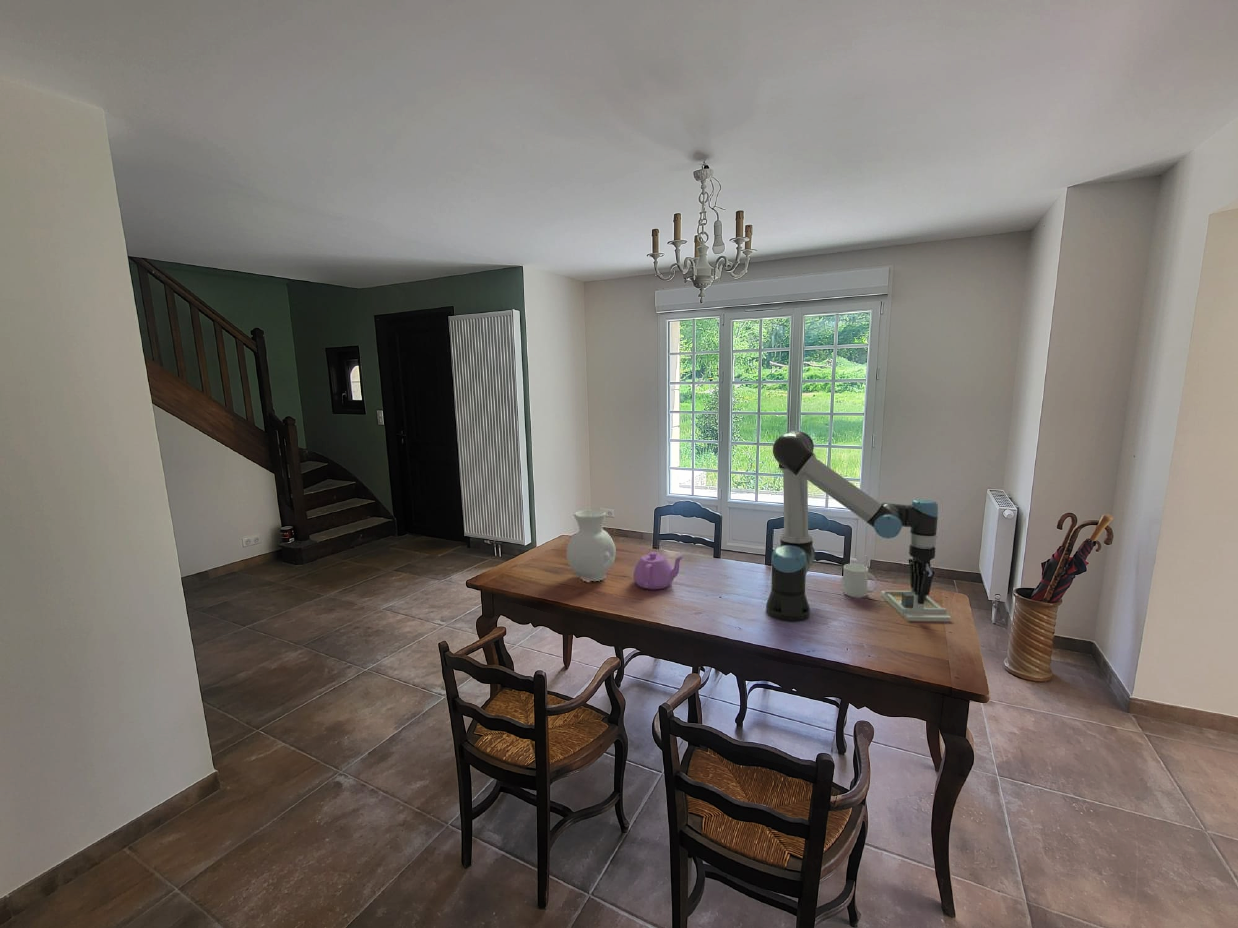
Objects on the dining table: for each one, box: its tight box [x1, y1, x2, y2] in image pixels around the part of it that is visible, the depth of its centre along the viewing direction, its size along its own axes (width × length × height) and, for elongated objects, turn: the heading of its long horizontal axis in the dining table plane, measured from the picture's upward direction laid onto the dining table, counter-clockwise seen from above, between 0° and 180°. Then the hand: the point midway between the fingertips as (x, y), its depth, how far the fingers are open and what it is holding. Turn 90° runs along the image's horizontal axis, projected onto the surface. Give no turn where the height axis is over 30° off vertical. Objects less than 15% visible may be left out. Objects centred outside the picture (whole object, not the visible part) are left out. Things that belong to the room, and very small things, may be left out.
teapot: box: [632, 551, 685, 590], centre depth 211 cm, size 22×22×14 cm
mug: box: [842, 563, 878, 599], centre depth 195 cm, size 9×12×11 cm
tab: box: [901, 592, 914, 608], centre depth 179 cm, size 4×3×5 cm
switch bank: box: [880, 589, 952, 623], centre depth 183 cm, size 14×22×3 cm, turn 175°
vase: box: [566, 509, 617, 582], centre depth 218 cm, size 19×21×30 cm
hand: (918, 610), depth 173 cm, fingers closed
